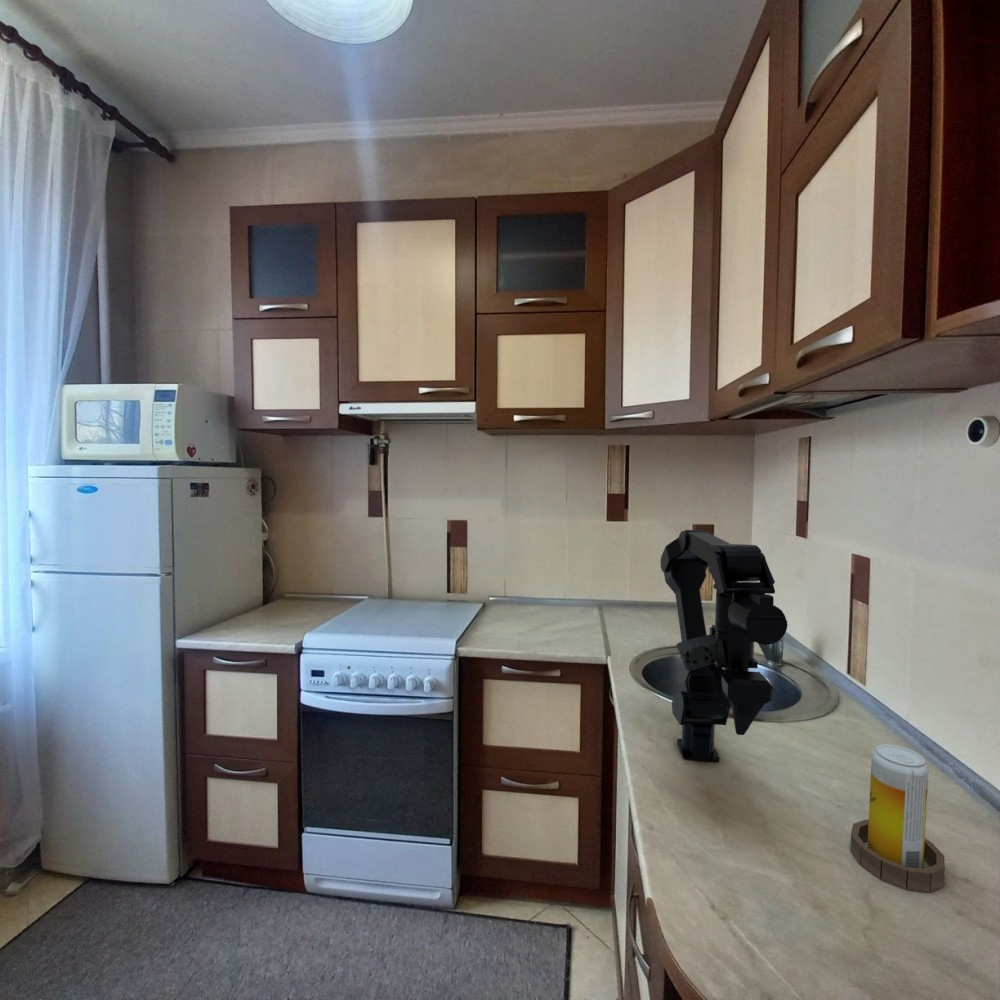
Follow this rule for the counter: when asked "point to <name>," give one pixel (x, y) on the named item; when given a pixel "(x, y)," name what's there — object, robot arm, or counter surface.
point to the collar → (895, 872)
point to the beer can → (898, 805)
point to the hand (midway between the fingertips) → (731, 720)
